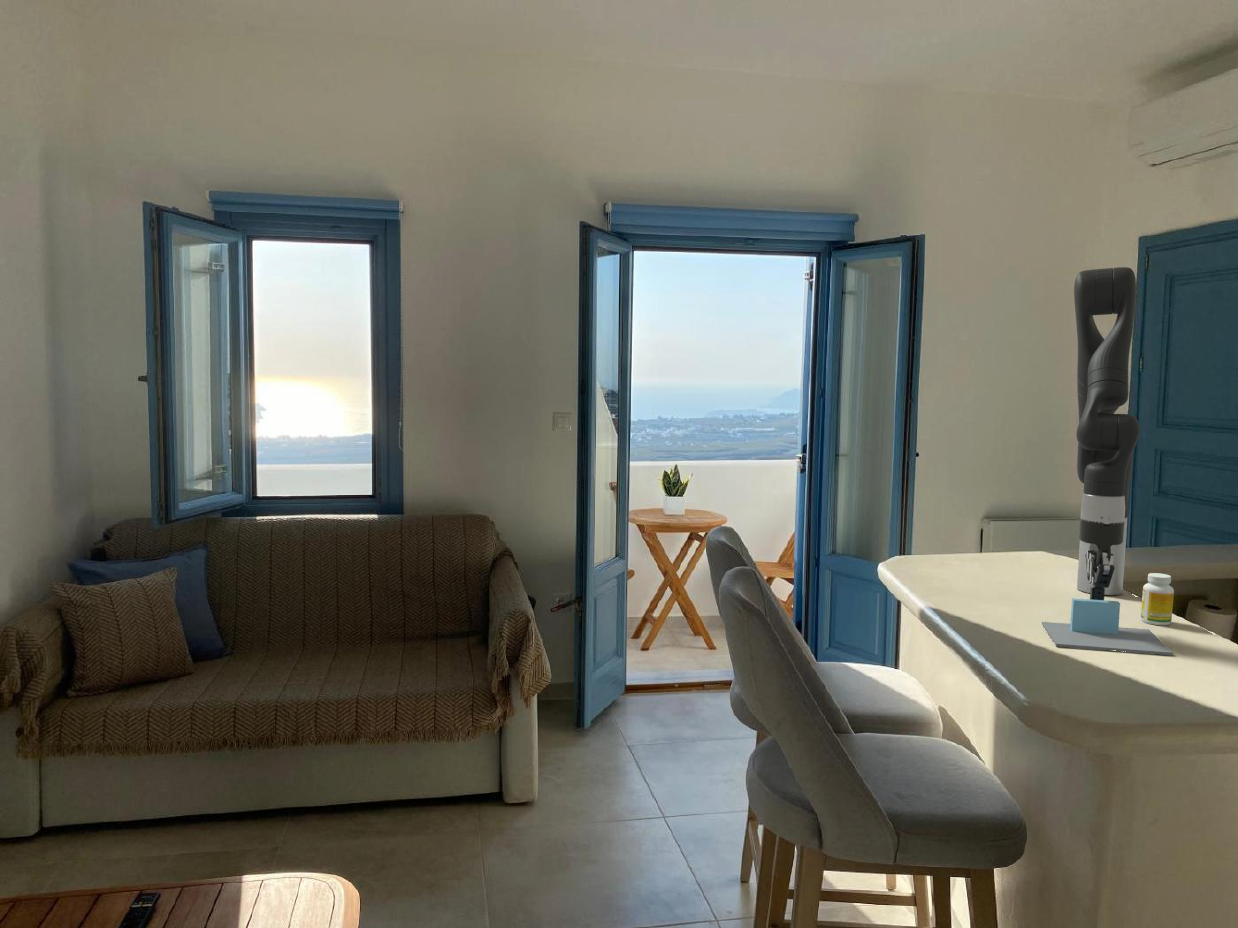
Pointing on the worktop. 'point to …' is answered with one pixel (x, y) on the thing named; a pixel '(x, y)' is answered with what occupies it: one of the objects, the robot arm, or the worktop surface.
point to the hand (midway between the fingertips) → (1096, 606)
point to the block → (1095, 616)
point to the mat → (1107, 639)
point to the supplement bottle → (1157, 600)
